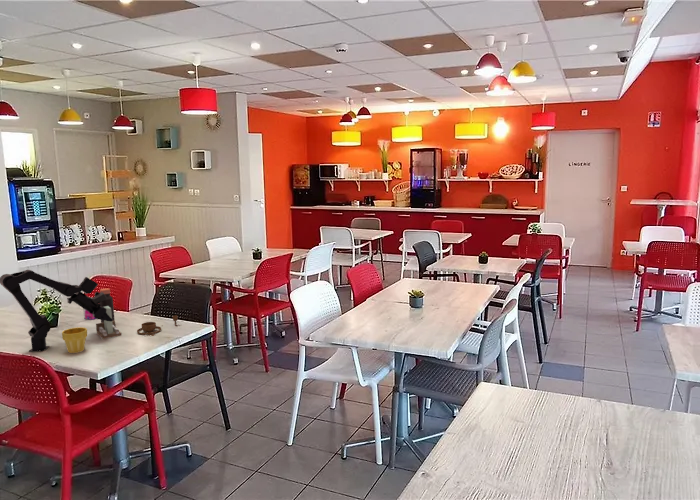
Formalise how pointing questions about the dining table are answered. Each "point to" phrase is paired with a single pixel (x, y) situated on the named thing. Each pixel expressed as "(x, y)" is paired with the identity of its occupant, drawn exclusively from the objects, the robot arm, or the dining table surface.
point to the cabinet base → (103, 334)
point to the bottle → (107, 302)
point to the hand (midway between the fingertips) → (109, 318)
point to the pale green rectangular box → (108, 323)
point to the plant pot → (75, 339)
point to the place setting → (152, 327)
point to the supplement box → (88, 315)
